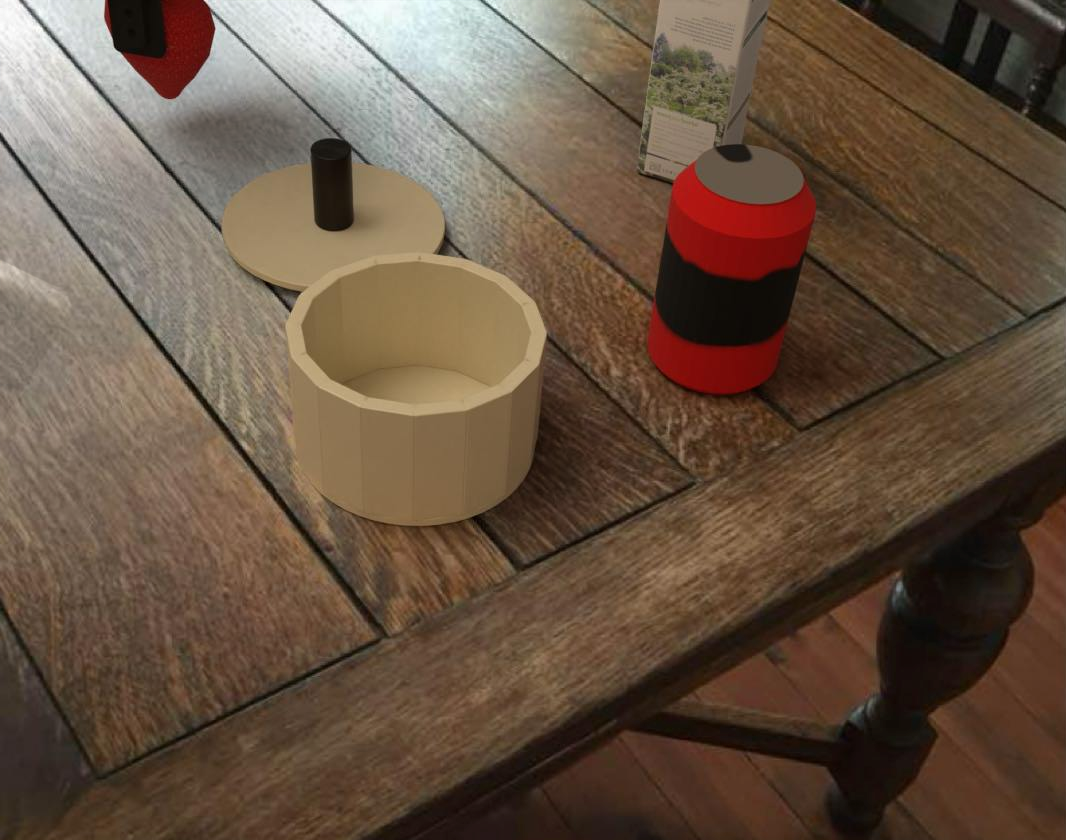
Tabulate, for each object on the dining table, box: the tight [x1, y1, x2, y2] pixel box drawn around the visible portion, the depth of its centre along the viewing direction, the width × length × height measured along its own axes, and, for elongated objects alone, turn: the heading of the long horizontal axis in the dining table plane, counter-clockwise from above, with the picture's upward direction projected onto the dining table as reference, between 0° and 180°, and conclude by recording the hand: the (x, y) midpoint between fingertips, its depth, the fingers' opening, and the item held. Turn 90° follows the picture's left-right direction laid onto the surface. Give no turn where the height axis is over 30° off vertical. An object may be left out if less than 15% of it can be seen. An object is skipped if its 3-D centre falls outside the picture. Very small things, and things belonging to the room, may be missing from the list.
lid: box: [220, 137, 446, 293], centre depth 82 cm, size 14×14×6 cm
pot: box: [284, 252, 548, 527], centre depth 69 cm, size 13×13×8 cm
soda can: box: [646, 143, 817, 396], centre depth 74 cm, size 8×8×12 cm
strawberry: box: [103, 0, 216, 100], centre depth 86 cm, size 6×8×10 cm
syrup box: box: [636, 0, 771, 184], centre depth 87 cm, size 6×6×14 cm
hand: (160, 25), depth 86 cm, fingers closed on strawberry, 6 cm apart
